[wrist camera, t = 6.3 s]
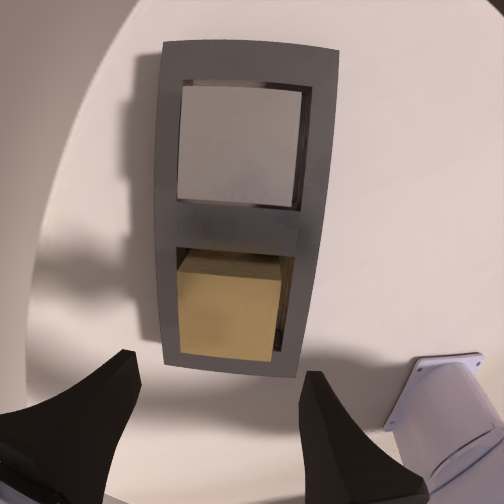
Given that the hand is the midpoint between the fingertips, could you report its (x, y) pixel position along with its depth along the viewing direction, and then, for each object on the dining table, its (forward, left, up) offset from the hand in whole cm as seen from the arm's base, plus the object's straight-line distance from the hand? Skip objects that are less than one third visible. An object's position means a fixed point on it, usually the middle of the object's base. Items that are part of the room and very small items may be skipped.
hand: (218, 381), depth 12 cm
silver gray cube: (+9, 0, -9) cm, 13 cm away
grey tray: (+5, 0, -9) cm, 10 cm away
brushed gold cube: (+1, 0, -9) cm, 9 cm away
